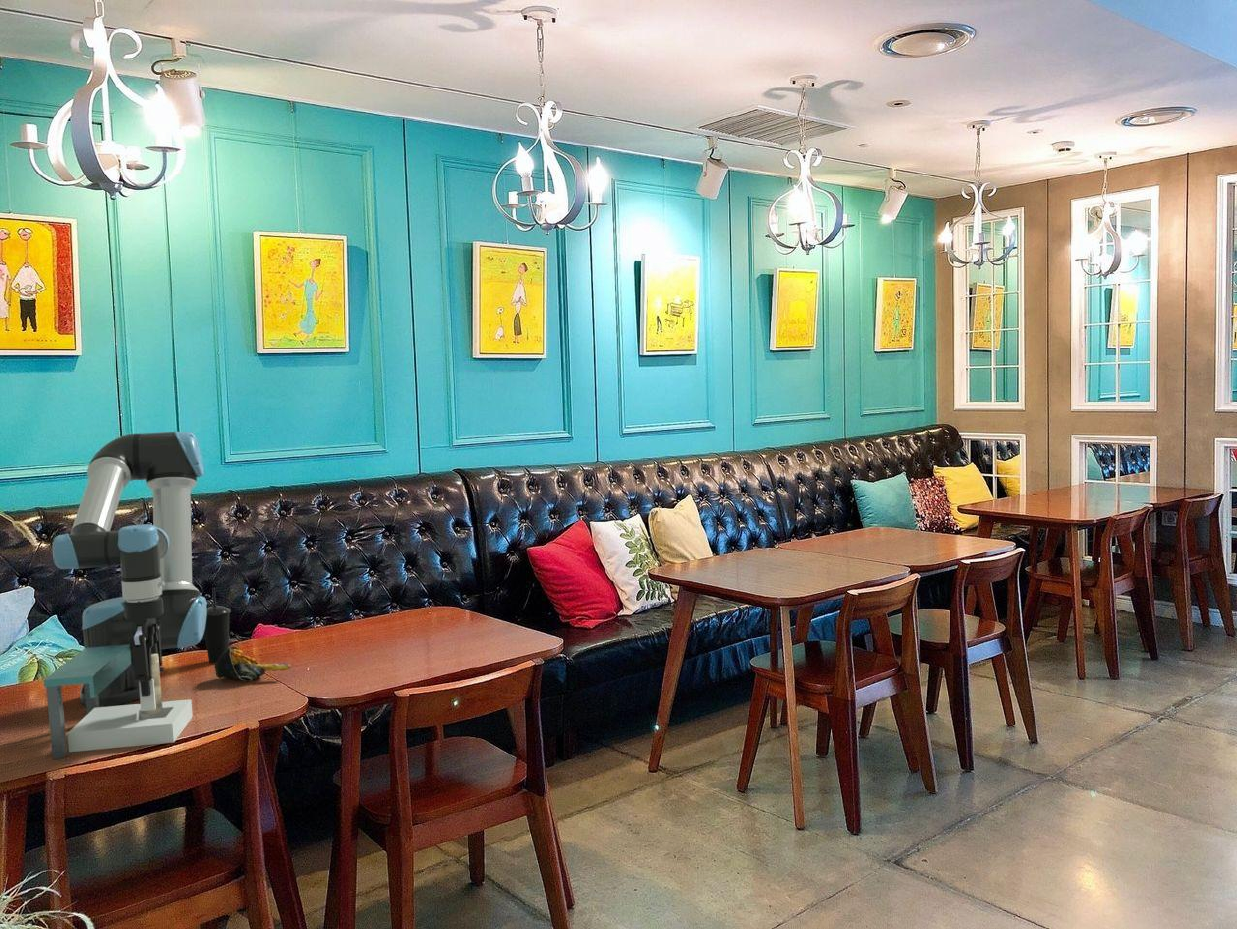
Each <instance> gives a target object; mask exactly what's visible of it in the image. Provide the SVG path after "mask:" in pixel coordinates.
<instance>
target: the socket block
mask: <svg viewBox="0 0 1237 929" xmlns="http://www.w3.org/2000/svg"><path fill="white" fill-rule="evenodd" d="M162 708H163V710H162V711H161V712H159V713H155V714H148V715H146V714H142V711H141V703H135V704H122V705H121V704H120V705H110V706H99V707H98V708H94V709H93V710H92V711H91V712H89V713H88V714H87V713H86V715H85V716H84V717H83V718H82V719H81V720H80V721H79V722H77V723H76V724H75V726H74V727H72V729H70V731H68V732H67V733H66V734H67V742H68V743H67V744H68V752H69V753H76V752H77V753H78V752H87V751H97V750H98V751H99V750H107V749H119V748H129V747H139V746H140V747H141V746H150V745H160V744H162V745H163V744H172V743H173V744H174V743H175V742H176V741H177V739H178V738H179V736H180V735H181V733H182V732H183V730H184V729H185V728H186V727H187V725H188V724H189V722H191V720H192V718H193V716H194V715H193V702H192V699H189V698H188V699H179V700H168V701H162Z"/></svg>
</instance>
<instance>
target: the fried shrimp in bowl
mask: <svg viewBox="0 0 1237 929" xmlns="http://www.w3.org/2000/svg"><path fill="white" fill-rule="evenodd" d="M243 653H244V652H243V651H242V650H240V649H239V648H238V646H237V645H234V644H233V645H230V646H229V649H228V650H226V651H225V652H224V653H222V655H221V656H220V658H219V659H218V661H217V662H216V663H215V664H214V671H215V676H216V677H217V678H219V679H222V678H225V679H228V680H241V681H246V682H251V681H253V679H258V678H260V677H261V676H263V675H265V673H266V672H265V671H271V672H272V671H273V672H275V671H276V672H278V671H286V670H290V669H291V664H289V663H268V664H267V663H263V664H260V662H261V661H262V659H259V658H253V657H251V656H248V655H244V654H243Z"/></svg>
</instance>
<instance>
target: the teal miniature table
mask: <svg viewBox="0 0 1237 929" xmlns="http://www.w3.org/2000/svg"><path fill="white" fill-rule="evenodd" d="M130 665H131V654H130V644H128V645H116V646H103V647H90V648H85V647H84V648H83V649H82V650H81V651H80V652H78V653H77V654H75V656H73V657H72V658H71V659H70V660H68V661H66V662H65V663H64V664H63V665H61V666H60V667H59V668H57V669H56V670H55V671H53V672H52V673H51V674H49V675H48V676H47V677H45V678H44V679H43V687H44V688H46V699H47V710H48V719H49V720H48V721H49V732H50V743H51V753H52V760H56V759H64V758H66V756H67V755H68V747H67V735H66V734H67V733H66V727H65V726H66V722H65V714H64V713H65V712H64V703H63V693H62V692H63V691H62V690H63V689H62V686H63V687H65V686H74V685H76V686H77V685H83V684H84V688H85V700H86V705H85V708H86V709H85V711H86V715H87V714H88V713H89V712H91V711H92V710H93V709H94V708H98V707H100V706H99V697H98V694H99V693H100V692H101V691H103V690H104V689H105V688H106V687H107V686H108V685H109V684H110V683H111V682H112V681H113V680H115V679H116V678H117V677H118V676H119V675H120V674H121V673H122V672H123V671H124V670H125V669H127V668H128V667H129V666H130Z"/></svg>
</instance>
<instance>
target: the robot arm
mask: <svg viewBox="0 0 1237 929" xmlns="http://www.w3.org/2000/svg"><path fill="white" fill-rule="evenodd" d="M203 464H204V463H203V458H202V452H201V448H200V444H199V442H198V438H197V437H196V435H195V434H194V433H193V432H190V431H176V430H174V431H169V432H165V431H164V432H151V433H150V432H148V433H146V432H145V433H128V434H125V435H124V434H123V435H121V436H119V437H118V436H117V437H116V438H115V439H113V440H111V441H109V442H108V443H106V444H105V445H103V446H102V447H100V448H99V450H98V451H97V452H96V453H95V454H94V455H93V457H92V458H91V460H90V461H89V464H88V467H87V470H86V476H87V479H88V480H87V484H86V487H85V490H84V493H83V496H82V498H81V502H80V504H79V507H78V510H77V512H76V516H75V519H74V521H73V525H72V528H71V529H70V530H71V531H70V533H64V534H59V535H57V536H55V537H54V539H53V542H52V557H53V558H52V559H53V562H54V565H55V566H56V567H57V568H58V569H61V570H71V569H74V570H79V569H90V568H100V567H110V566H111V567H113V566H120V575H121V592H122V594H121V595H122V596H120V597H115V598H110V599H106V600H102V601H99V602H96V603H94V604H91V605H90V606H88V607H86V608H85V609H84V610H83V613H82V627H81V630H82V634H83V635H82V636H83V644H84V649H85V648H90V647H103V646H116V645H128V644H130V654H131V665H130V666H129V667H128V668H127V669H125V670H124V671H123V672H122V673H121V674H120V675H119V676H118V677H117V678H116V679H115V680H113V681H112V682H111V683H110V684H109V685H108V686H107V687H106V688H105V689H104V690H103V691H101V692H100V693H99V694H98V697H99V707H109V706H118V705H121V704H122V705H124V704H125V703H131V702H134V701H137V700H140V704H141V711H149V710H155V709H156V703H155V690H154V679H152V670H151V654H158V658H159V670H160V672H164V670H165V668H164V666H163V658H162V656H163V655H162V650H167V649H175V648H176V649H177V648H178V649H182V648H185V647H191V646H196V645H198V644H199V643H200V642H201V641H202V639H203V637H204V629H205V623H206V613H207V610H206V609H207V600H206V598H205V597H204V596H202V595H201V596H200V590H199V589H198V588H197V587H196V586H195V585H194V584H193V558H192V557H193V556H192V555H193V554H192V551H193V550H192V548H193V546H192V508H191V506H192V505H191V504H192V502H191V496H192V495H191V494H192V493H191V492H192V490H193V489H194V488H196V486H197V484H198V480H197V479H198V478H201V477H203V476H204V465H203ZM142 480H143V481H145V482H146V483H145V485H146V487H147V488H148V489H149V490H150V491H152V508H153V509H152V512H153V513H152V519H153V522H152V523H153V524H150V523H149V524H148V523H146V524H144V523H143V524H134V525H133V524H132V525H127V526H123V527H121V528H120V529H119V530H112V531H111V529H112V525H113V523H114V519H115V516H116V512H117V508H118V506H119V503H120V499H121V496H122V492H123V489H124V488H126V487H127V486H128V485H129V483H130V482H131V481H142ZM81 685H82V686H81V687H80V688H81V689H80V692H79V694H80V696H79V697H80V703H81V704H82V705H83V706H86V700H85V688H84V684H81Z"/></svg>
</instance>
